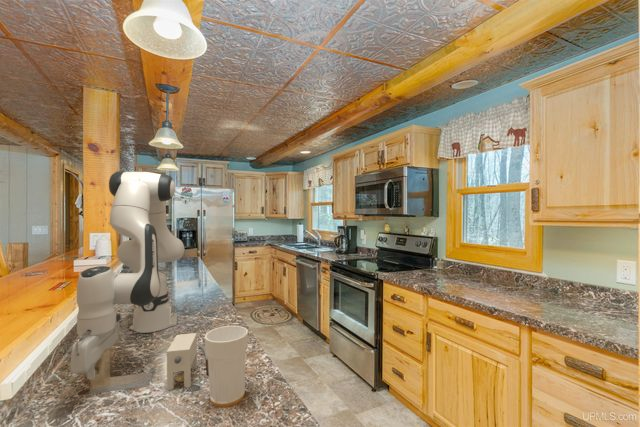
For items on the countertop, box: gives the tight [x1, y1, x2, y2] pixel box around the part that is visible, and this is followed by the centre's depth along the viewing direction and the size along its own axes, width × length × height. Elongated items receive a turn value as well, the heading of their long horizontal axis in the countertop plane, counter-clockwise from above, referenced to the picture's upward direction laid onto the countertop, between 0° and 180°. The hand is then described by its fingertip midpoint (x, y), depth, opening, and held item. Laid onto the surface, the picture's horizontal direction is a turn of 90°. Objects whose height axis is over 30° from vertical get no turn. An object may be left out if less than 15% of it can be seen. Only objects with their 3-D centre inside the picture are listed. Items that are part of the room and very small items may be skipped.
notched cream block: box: [166, 332, 198, 391], centre depth 92 cm, size 13×6×11 cm, turn 12°
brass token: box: [174, 372, 184, 383], centre depth 93 cm, size 4×4×1 cm
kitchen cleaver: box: [198, 342, 209, 377], centre depth 106 cm, size 24×1×10 cm
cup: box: [204, 325, 249, 408], centre depth 83 cm, size 11×11×17 cm
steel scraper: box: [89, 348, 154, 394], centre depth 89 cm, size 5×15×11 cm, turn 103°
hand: (97, 371), depth 88 cm, fingers open, 5 cm apart
